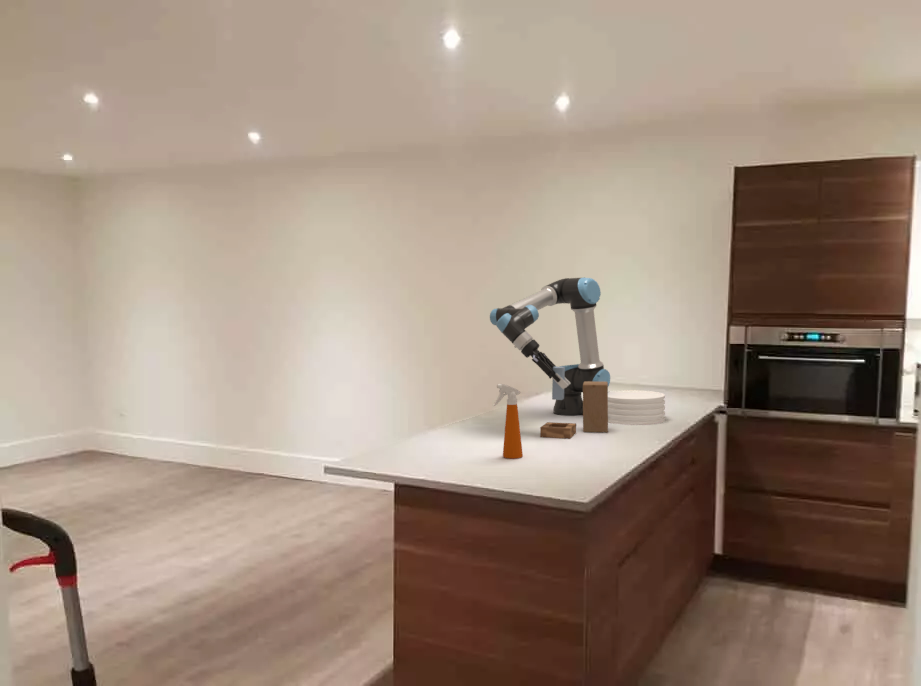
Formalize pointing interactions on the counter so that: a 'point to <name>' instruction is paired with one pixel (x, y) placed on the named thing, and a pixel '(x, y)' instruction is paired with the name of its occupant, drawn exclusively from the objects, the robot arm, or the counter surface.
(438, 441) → the counter surface
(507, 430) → the spray bottle
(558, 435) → the square wooden frame
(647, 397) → the plate stack
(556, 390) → the tall blue pillar
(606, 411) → the wooden block
